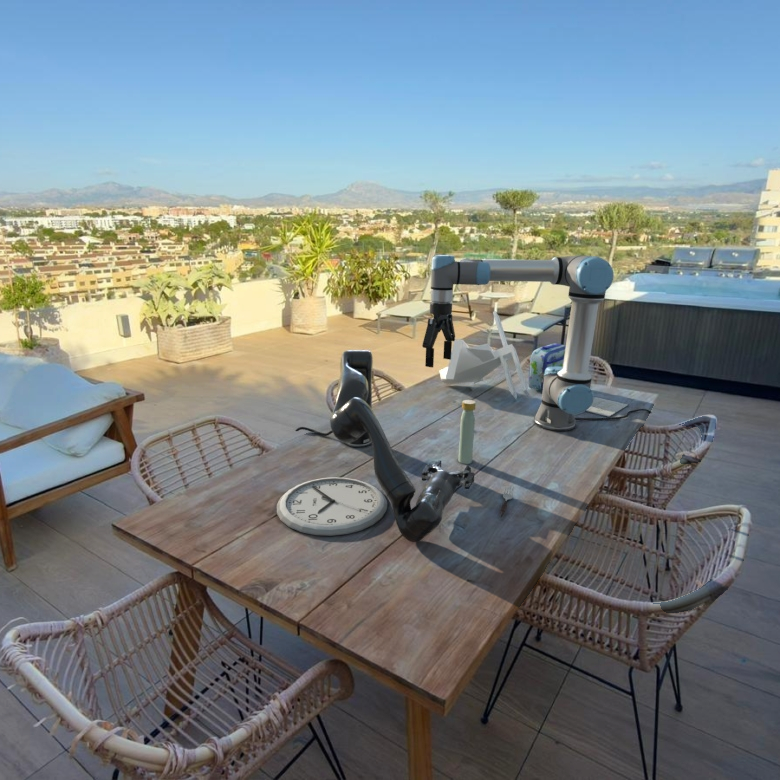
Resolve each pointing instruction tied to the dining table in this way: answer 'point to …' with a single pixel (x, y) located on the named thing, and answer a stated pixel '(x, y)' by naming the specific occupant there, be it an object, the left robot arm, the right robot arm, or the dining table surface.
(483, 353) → the white plastic object
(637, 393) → the dining table surface
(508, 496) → the fork
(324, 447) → the dining table surface
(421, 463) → the dining table surface
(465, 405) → the cap
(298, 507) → the wall clock
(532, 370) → the lunch box
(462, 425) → the bottle
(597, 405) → the invitation card
